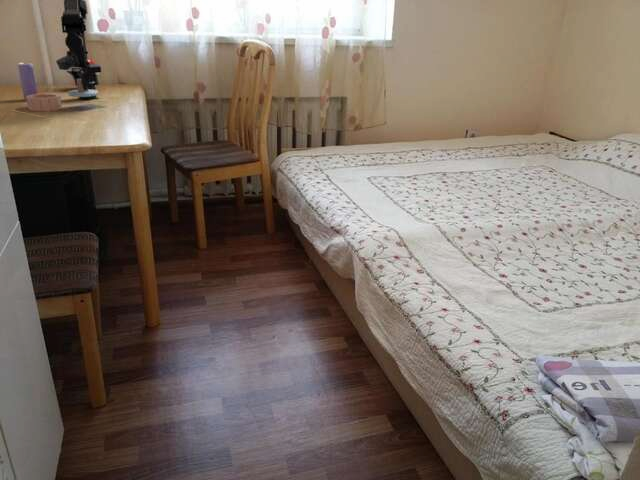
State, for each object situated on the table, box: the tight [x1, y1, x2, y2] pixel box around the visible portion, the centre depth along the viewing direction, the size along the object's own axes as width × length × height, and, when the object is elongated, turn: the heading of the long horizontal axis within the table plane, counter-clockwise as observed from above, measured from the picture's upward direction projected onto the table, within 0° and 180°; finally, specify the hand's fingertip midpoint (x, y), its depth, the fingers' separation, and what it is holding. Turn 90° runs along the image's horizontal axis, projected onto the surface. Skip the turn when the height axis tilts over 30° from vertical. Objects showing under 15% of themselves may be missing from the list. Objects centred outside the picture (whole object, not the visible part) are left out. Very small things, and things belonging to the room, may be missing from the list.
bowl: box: [26, 93, 63, 112], centre depth 210 cm, size 12×12×5 cm
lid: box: [68, 79, 99, 98], centre depth 211 cm, size 11×11×6 cm
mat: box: [65, 103, 106, 112], centre depth 214 cm, size 12×10×1 cm
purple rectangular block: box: [17, 62, 40, 102], centre depth 224 cm, size 6×6×15 cm
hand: (83, 89), depth 211 cm, fingers closed on lid, 3 cm apart
